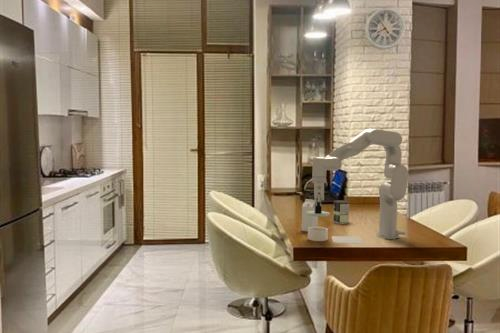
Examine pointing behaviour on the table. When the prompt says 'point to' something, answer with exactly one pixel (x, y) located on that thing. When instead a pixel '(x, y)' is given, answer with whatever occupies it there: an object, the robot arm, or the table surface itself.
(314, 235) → the bowl
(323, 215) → the lid
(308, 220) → the milk carton
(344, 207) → the coffee can
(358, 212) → the table surface
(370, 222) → the table surface
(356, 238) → the mat
